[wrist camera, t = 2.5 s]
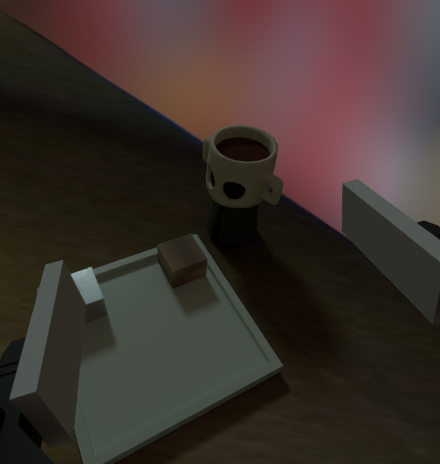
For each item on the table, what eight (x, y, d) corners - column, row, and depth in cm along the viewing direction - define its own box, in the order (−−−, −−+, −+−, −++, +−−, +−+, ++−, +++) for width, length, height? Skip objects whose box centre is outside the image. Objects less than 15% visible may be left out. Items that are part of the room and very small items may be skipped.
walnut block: (172, 288, 40) (172, 272, 38) (158, 262, 42) (157, 244, 40) (206, 275, 42) (207, 258, 39) (190, 250, 44) (190, 233, 42)
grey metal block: (66, 330, 36) (59, 314, 34) (56, 298, 38) (49, 281, 36) (107, 314, 37) (103, 297, 35) (96, 284, 40) (91, 267, 38)
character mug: (181, 220, 48) (181, 132, 39) (218, 195, 52) (227, 110, 42) (245, 270, 44) (264, 184, 34) (282, 238, 47) (307, 153, 38)
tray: (89, 476, 29) (85, 472, 28) (40, 296, 39) (36, 288, 38) (279, 372, 36) (283, 365, 35) (195, 242, 46) (196, 233, 45)
